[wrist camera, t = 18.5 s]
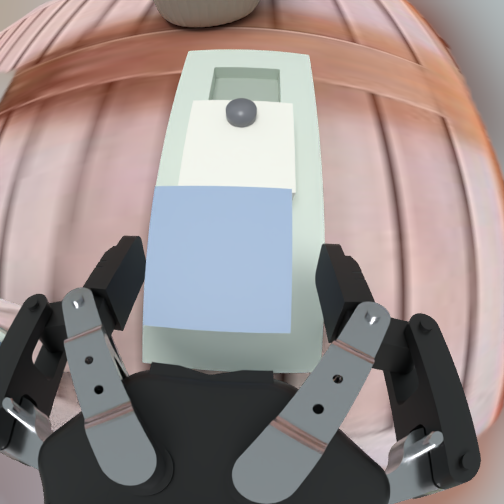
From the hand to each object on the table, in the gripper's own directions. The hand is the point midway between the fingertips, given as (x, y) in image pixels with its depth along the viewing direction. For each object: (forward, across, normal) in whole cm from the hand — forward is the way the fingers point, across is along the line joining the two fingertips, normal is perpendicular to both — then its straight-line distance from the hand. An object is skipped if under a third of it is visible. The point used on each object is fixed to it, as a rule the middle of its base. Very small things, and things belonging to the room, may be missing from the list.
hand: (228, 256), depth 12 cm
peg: (+5, 0, +6) cm, 7 cm away
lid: (+10, 0, -2) cm, 10 cm away
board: (+11, 0, +1) cm, 11 cm away
